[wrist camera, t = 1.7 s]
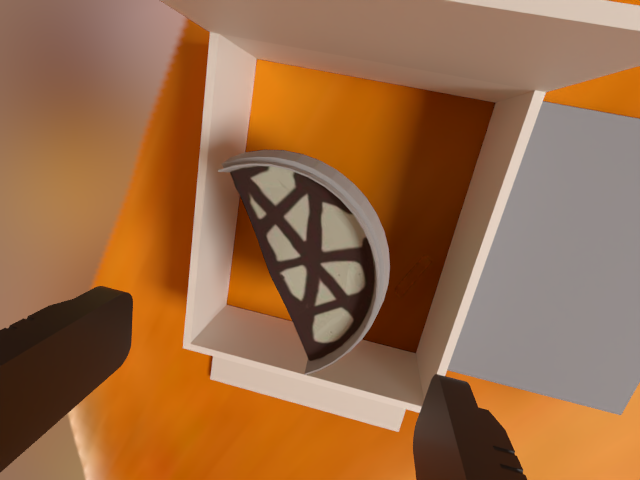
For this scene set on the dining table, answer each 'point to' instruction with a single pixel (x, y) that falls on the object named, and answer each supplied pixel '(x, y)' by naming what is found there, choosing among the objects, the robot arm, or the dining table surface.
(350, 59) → the carton
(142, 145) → the dining table surface
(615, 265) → the slate mat
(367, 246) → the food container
